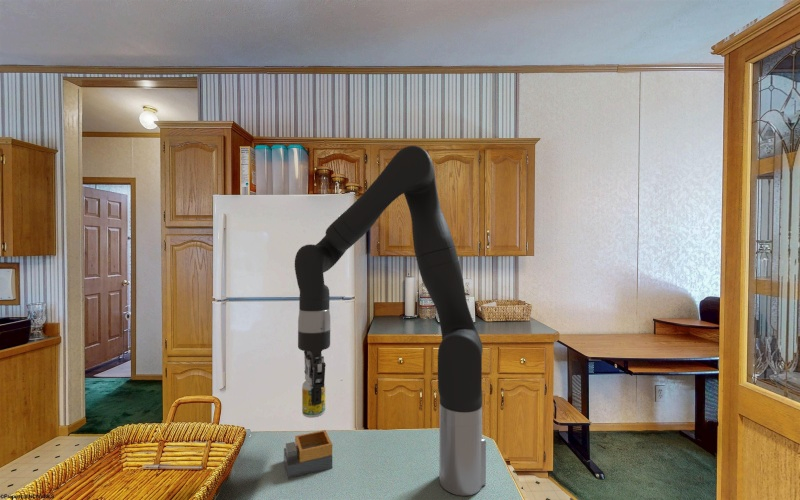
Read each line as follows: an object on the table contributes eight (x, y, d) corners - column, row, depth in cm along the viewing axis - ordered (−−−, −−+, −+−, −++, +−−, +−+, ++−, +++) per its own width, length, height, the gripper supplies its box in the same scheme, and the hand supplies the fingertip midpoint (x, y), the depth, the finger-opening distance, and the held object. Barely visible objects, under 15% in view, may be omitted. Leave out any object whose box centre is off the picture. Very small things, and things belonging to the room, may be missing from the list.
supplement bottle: (320, 406, 89) (320, 367, 89) (328, 414, 84) (328, 374, 84) (299, 411, 86) (299, 371, 86) (306, 420, 81) (306, 378, 81)
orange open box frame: (325, 451, 90) (325, 429, 90) (332, 468, 83) (332, 444, 83) (283, 460, 86) (283, 438, 86) (287, 479, 79) (287, 454, 79)
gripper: (337, 333, 80) (336, 408, 80) (323, 321, 93) (323, 386, 93) (303, 336, 77) (302, 414, 77) (294, 323, 90) (293, 390, 90)
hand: (313, 398), depth 85 cm, fingers closed on supplement bottle, 5 cm apart
